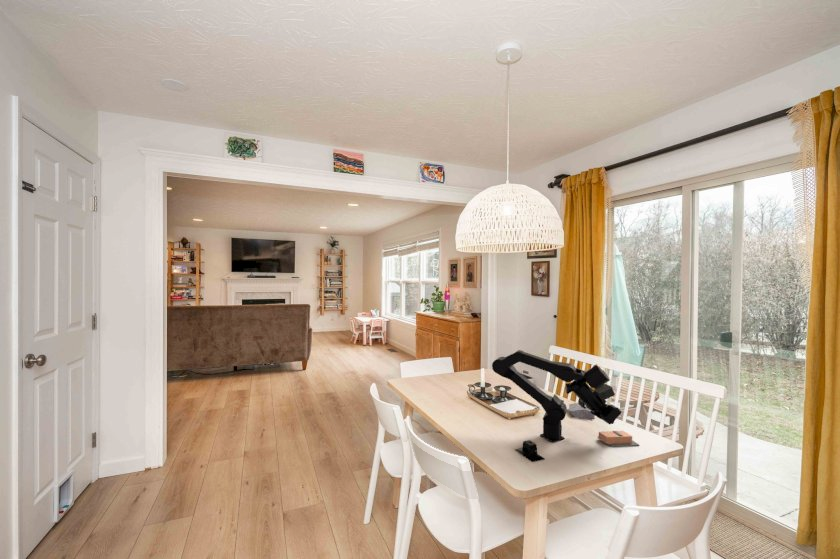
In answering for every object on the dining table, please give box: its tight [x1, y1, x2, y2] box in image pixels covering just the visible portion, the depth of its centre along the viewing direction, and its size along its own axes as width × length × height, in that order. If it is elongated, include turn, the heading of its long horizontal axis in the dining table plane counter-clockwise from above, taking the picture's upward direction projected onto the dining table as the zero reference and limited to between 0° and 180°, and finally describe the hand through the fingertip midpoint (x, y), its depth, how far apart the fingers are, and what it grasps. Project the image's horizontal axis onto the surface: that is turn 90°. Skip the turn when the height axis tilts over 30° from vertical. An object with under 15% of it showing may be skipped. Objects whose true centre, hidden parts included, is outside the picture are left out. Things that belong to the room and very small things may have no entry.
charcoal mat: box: [597, 435, 640, 448], centre depth 139 cm, size 11×8×1 cm
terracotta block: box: [598, 430, 633, 445], centre depth 139 cm, size 3×5×10 cm
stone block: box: [568, 402, 596, 420], centre depth 167 cm, size 12×5×10 cm
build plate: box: [514, 439, 545, 463], centre depth 127 cm, size 12×7×5 cm, turn 22°
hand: (612, 422), depth 138 cm, fingers closed
